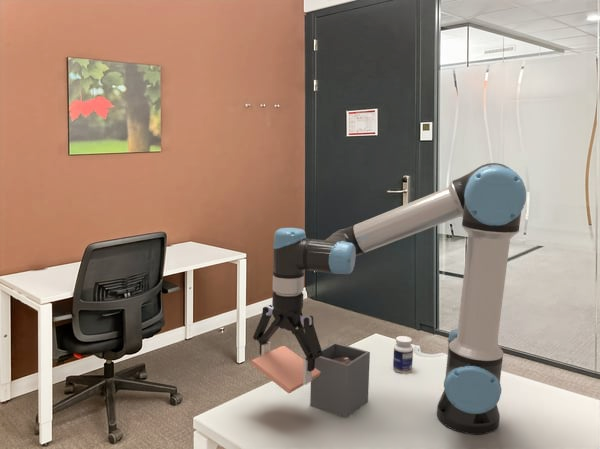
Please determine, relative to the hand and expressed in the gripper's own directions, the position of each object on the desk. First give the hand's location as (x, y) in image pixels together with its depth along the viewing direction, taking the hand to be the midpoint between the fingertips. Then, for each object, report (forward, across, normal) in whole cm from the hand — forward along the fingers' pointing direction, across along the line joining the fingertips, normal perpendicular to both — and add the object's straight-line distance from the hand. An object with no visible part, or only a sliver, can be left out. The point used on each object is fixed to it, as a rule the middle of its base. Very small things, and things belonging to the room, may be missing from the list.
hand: (285, 375), depth 140 cm
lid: (-1, 0, 0) cm, 1 cm away
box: (+11, -7, -14) cm, 19 cm away
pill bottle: (+11, -11, -44) cm, 47 cm away
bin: (+11, -7, -14) cm, 19 cm away
